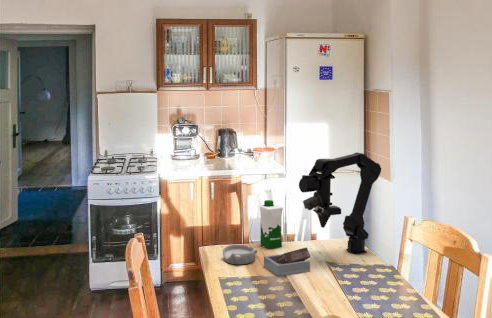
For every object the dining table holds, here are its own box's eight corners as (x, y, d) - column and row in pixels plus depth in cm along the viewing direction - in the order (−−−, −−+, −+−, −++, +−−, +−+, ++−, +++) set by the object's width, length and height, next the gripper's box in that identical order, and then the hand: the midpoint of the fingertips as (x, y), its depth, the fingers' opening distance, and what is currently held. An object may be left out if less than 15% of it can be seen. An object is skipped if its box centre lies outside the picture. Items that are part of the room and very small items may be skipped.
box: (306, 246, 223) (284, 252, 215) (311, 256, 221) (289, 263, 214) (297, 251, 227) (275, 258, 219) (302, 262, 226) (280, 269, 218)
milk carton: (274, 242, 257) (274, 199, 254) (285, 247, 249) (285, 202, 246) (257, 244, 253) (257, 201, 250) (267, 250, 245) (267, 205, 242)
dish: (241, 268, 222) (240, 255, 221) (215, 261, 231) (215, 249, 230) (263, 259, 233) (263, 247, 232) (238, 252, 242) (238, 241, 241)
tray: (294, 261, 229) (294, 252, 228) (310, 271, 217) (310, 261, 217) (263, 266, 223) (263, 256, 223) (277, 276, 212) (277, 266, 211)
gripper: (295, 187, 235) (294, 224, 237) (317, 195, 218) (317, 235, 220) (318, 185, 239) (317, 221, 241) (342, 193, 222) (341, 232, 224)
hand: (322, 227), depth 231 cm, fingers closed
